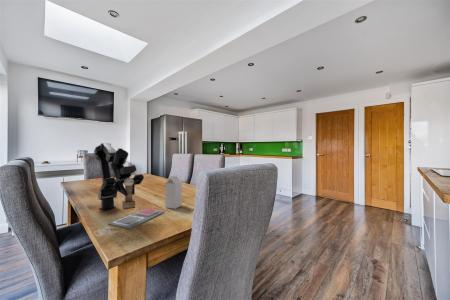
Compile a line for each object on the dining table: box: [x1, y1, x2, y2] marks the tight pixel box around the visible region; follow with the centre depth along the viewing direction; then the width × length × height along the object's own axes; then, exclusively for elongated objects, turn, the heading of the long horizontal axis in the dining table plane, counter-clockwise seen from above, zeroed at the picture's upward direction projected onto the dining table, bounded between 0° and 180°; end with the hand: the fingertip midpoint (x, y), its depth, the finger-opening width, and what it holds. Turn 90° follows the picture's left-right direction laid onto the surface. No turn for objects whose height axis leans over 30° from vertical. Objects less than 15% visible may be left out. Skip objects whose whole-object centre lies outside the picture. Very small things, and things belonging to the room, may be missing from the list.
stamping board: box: [107, 208, 165, 230], centre depth 96 cm, size 14×23×2 cm, turn 160°
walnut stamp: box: [121, 177, 136, 210], centre depth 92 cm, size 5×5×15 cm
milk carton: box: [164, 175, 183, 210], centre depth 116 cm, size 7×7×19 cm
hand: (130, 195), depth 91 cm, fingers closed on walnut stamp, 3 cm apart
